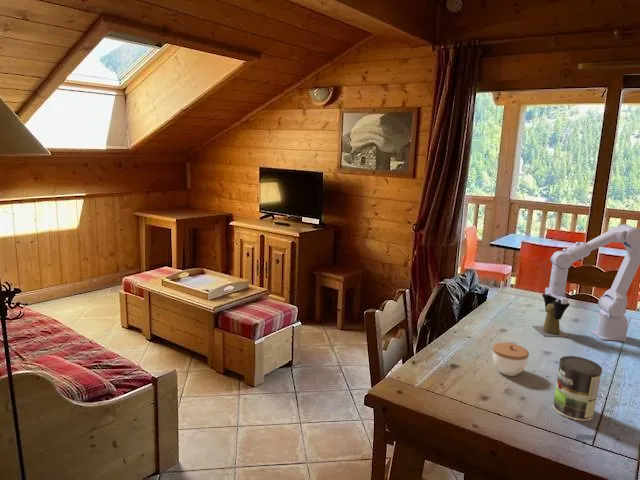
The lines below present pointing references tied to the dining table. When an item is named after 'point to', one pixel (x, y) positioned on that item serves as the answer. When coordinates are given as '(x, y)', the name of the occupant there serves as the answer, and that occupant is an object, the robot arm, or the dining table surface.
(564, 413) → the coffee can
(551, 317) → the cork
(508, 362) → the lidded jar
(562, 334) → the slate coaster
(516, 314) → the dining table surface
